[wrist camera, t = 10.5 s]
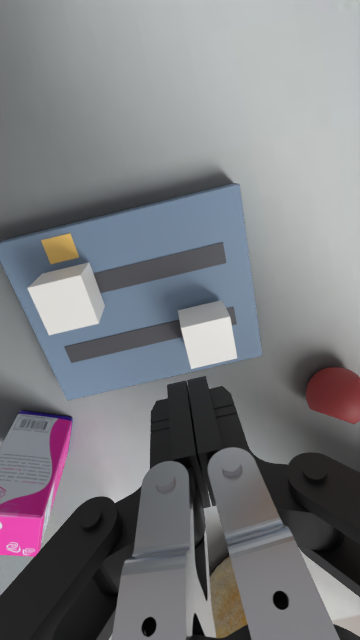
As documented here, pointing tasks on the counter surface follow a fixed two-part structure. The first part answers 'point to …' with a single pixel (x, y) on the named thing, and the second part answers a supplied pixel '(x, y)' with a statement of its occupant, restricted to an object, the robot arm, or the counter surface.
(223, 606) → the stone
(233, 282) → the switch panel
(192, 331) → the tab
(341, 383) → the red bulb syringe
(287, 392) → the counter surface
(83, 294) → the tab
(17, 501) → the supplement box
